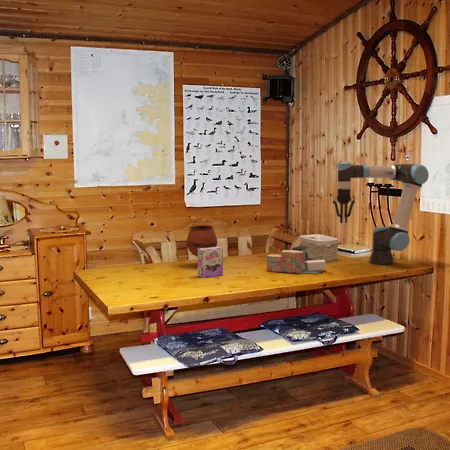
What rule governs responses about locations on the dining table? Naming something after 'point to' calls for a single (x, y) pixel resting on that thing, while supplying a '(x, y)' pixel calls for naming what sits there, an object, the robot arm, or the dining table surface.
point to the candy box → (210, 262)
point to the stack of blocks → (286, 261)
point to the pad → (312, 272)
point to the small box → (302, 248)
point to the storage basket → (320, 247)
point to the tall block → (315, 265)
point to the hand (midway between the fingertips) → (343, 228)
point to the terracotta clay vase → (201, 239)
